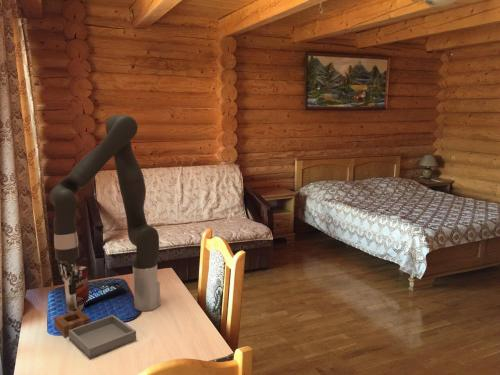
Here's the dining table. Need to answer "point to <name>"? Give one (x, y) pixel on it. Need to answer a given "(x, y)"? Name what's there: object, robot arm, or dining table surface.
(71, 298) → the lock pin
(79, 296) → the supplement box
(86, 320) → the pin holder
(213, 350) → the dining table surface
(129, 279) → the dining table surface
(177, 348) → the dining table surface
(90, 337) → the tray
